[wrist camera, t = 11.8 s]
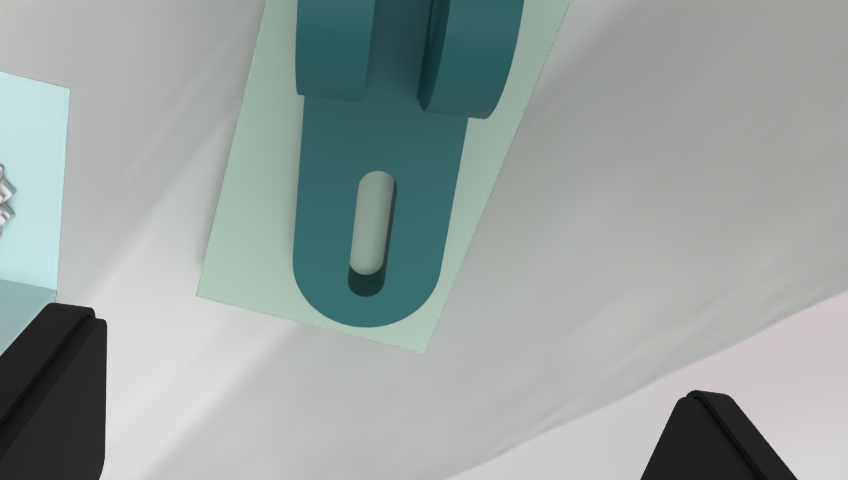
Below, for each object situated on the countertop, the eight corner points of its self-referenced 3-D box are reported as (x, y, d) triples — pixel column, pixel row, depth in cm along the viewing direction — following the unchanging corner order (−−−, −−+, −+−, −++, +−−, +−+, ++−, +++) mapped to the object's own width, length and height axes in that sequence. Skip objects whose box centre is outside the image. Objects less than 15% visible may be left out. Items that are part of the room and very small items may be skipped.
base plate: (575, -79, 29) (605, -83, 26) (418, 313, 37) (424, 353, 34) (322, -187, 27) (315, -208, 23) (213, 260, 35) (195, 296, 31)
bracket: (323, -106, 24) (306, -128, 17) (493, -77, 25) (542, -85, 18) (292, 297, 32) (271, 398, 25) (425, 308, 33) (442, 410, 26)
